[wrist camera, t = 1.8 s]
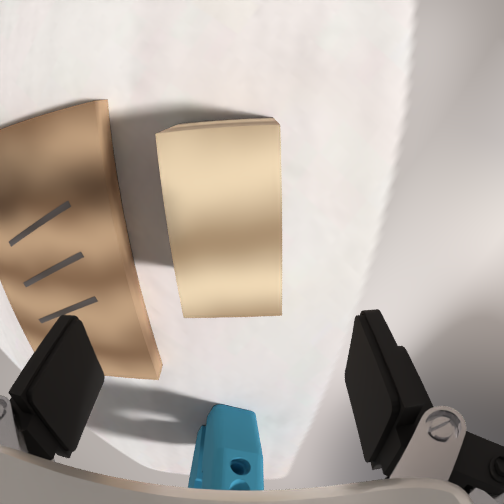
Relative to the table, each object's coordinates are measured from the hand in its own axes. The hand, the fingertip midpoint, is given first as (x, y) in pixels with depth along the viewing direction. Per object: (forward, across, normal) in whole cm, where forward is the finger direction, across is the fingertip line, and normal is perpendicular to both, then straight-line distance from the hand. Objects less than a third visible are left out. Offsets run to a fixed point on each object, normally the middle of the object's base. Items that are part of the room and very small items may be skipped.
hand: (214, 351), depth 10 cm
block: (+15, +3, +26) cm, 30 cm away
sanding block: (+14, 0, -1) cm, 14 cm away
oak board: (+14, +15, +3) cm, 21 cm away
